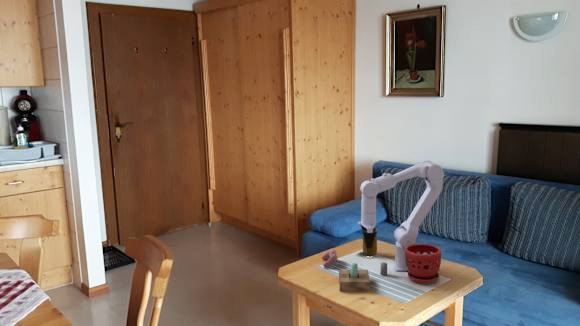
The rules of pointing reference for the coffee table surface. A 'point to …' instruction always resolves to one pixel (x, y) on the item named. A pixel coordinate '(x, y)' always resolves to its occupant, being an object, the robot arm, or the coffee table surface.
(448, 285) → the coffee table surface
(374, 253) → the condiment
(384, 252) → the coffee table surface
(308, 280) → the coffee table surface
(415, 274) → the plant pot
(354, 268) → the long pin
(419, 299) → the coffee table surface
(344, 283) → the hole block
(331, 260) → the pink curved piece
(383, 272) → the short pin
